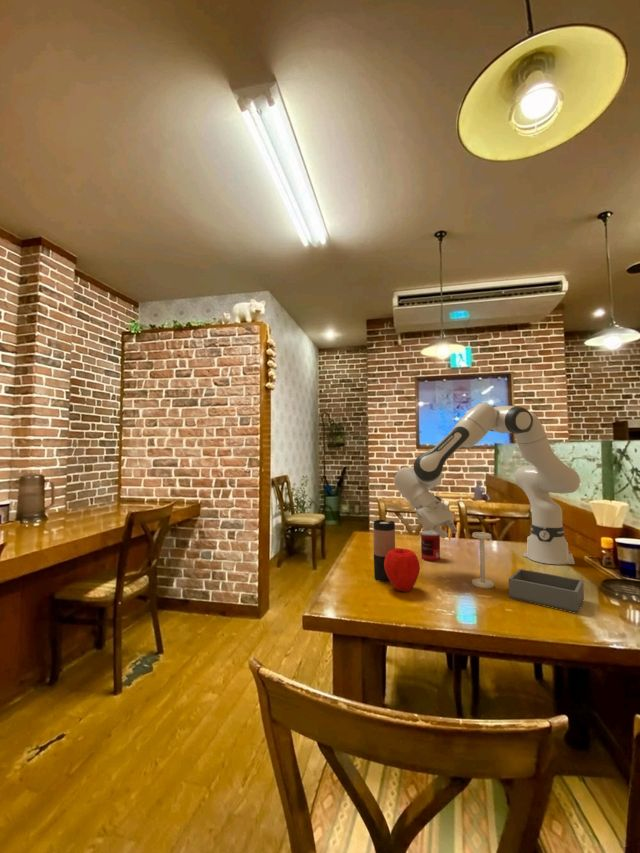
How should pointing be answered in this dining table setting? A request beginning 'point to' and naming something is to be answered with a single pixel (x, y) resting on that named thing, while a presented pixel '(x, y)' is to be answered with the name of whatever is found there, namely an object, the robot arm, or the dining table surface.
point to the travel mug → (382, 546)
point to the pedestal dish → (482, 562)
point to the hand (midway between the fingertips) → (451, 534)
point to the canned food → (430, 546)
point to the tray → (547, 590)
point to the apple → (402, 568)
